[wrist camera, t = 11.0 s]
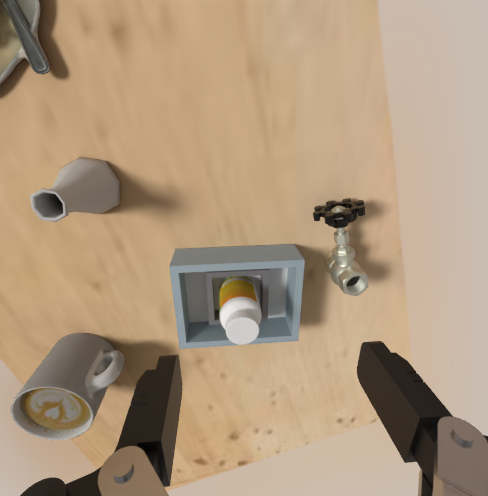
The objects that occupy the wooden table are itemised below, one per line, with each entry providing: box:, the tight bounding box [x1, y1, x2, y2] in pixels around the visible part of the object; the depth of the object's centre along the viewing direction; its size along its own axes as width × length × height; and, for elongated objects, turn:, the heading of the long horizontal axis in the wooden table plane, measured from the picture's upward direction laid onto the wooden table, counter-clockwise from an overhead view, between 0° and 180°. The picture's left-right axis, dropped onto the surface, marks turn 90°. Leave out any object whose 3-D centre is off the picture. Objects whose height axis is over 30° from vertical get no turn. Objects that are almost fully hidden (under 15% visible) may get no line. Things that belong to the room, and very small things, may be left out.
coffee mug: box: [11, 333, 125, 440], centre depth 41 cm, size 13×10×10 cm
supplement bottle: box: [219, 276, 262, 345], centre depth 37 cm, size 5×5×10 cm
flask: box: [30, 157, 120, 222], centre depth 31 cm, size 7×7×10 cm
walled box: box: [170, 244, 305, 349], centre depth 40 cm, size 13×17×6 cm
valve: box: [313, 198, 368, 296], centre depth 38 cm, size 7×7×12 cm
